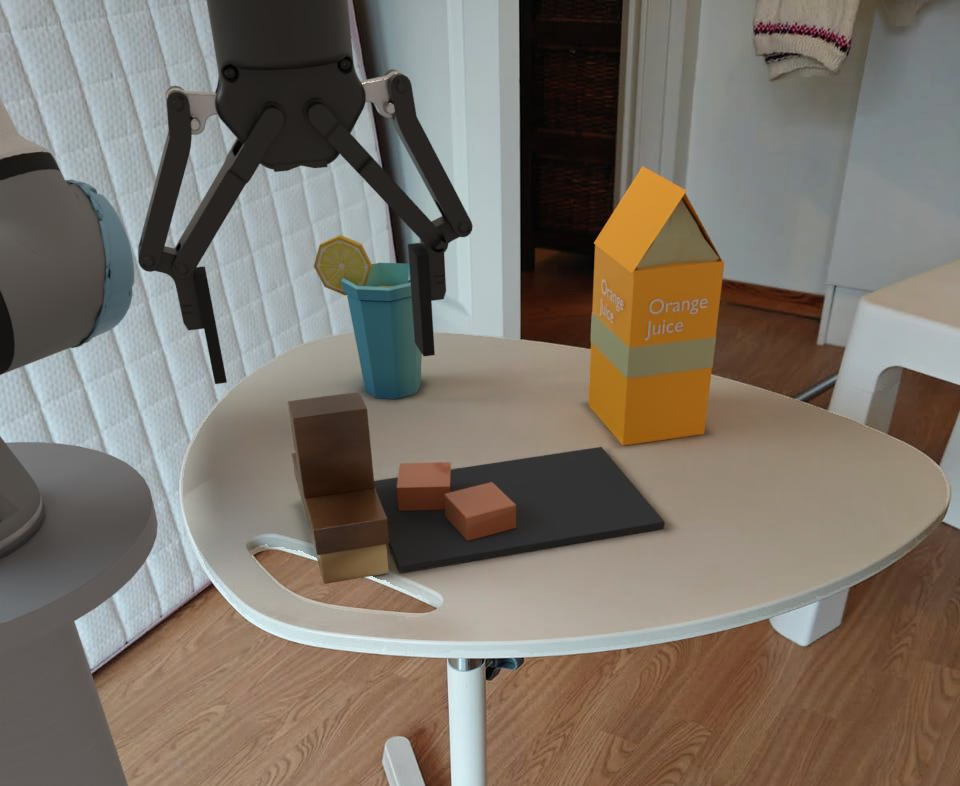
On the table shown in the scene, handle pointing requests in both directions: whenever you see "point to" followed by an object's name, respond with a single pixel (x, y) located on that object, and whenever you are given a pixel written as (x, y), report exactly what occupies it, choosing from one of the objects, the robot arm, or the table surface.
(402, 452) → the table surface
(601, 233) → the orange juice
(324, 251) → the cup
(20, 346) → the robot arm
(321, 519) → the three-tone stepped block
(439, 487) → the clay chunk
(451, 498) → the clay chunk
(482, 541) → the mat
